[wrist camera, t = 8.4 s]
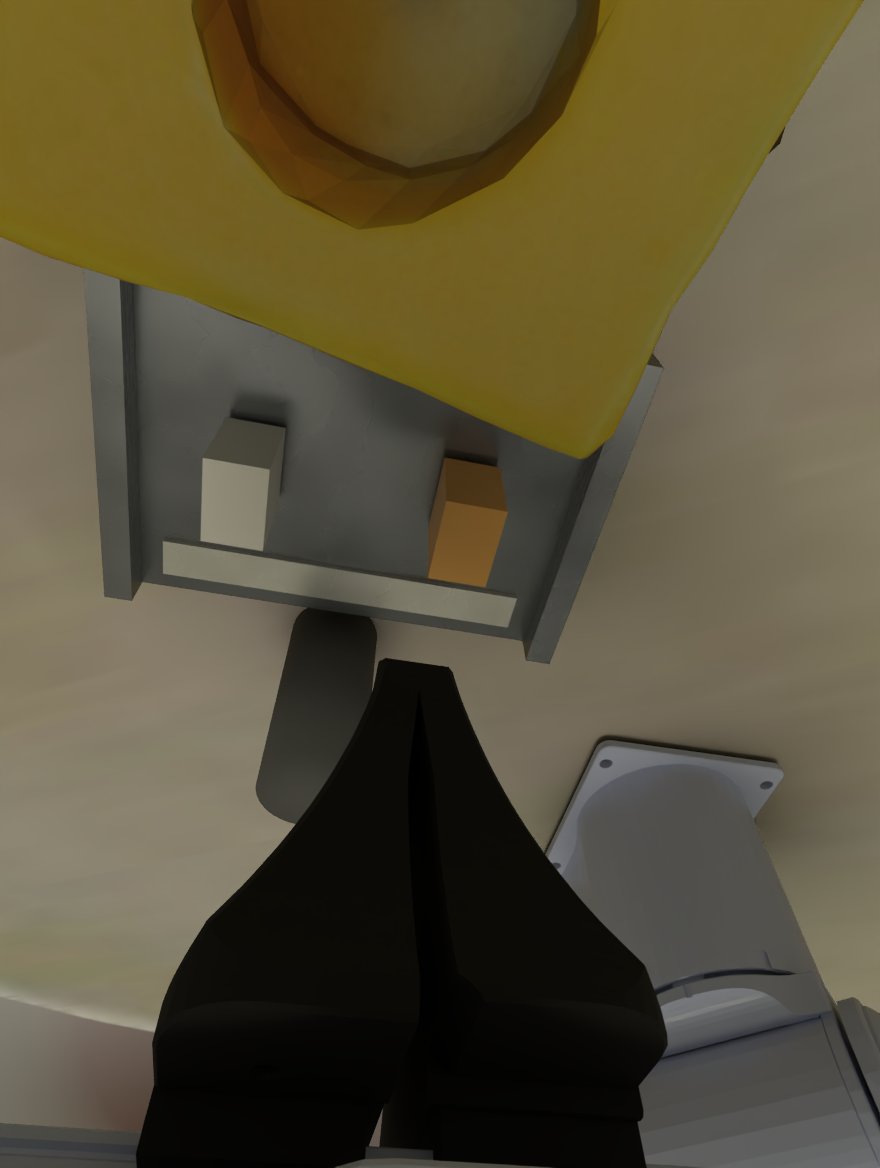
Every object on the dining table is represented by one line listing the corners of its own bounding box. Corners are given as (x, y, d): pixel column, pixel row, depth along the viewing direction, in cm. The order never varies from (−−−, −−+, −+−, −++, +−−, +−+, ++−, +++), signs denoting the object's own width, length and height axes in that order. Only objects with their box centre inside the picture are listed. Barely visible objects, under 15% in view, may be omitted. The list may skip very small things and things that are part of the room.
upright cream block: (278, 504, 21) (262, 551, 19) (222, 494, 21) (200, 540, 19) (285, 427, 20) (270, 469, 18) (225, 417, 20) (202, 457, 18)
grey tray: (540, 617, 26) (549, 664, 24) (131, 551, 24) (104, 596, 22) (640, 337, 21) (663, 368, 19) (119, 226, 19) (82, 246, 17)
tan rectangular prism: (480, 538, 22) (485, 587, 20) (427, 530, 22) (427, 577, 20) (500, 467, 21) (507, 511, 19) (444, 457, 21) (446, 500, 19)
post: (370, 671, 28) (354, 831, 22) (289, 660, 27) (252, 819, 22) (382, 609, 26) (370, 764, 20) (297, 595, 26) (259, 749, 20)
